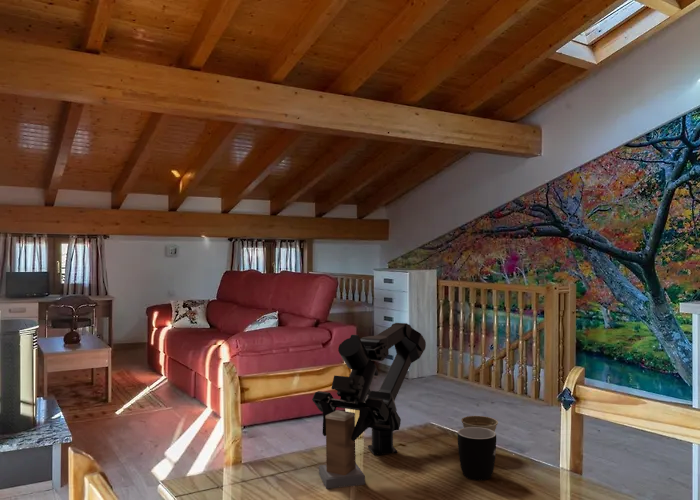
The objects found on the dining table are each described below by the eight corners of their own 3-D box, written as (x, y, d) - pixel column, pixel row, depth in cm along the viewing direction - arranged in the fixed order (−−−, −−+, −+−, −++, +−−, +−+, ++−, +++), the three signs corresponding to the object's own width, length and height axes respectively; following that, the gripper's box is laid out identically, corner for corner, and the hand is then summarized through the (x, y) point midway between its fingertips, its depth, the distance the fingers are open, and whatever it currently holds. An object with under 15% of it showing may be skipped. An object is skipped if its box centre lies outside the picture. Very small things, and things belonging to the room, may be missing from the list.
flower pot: (501, 450, 152) (501, 417, 152) (494, 462, 144) (494, 427, 144) (466, 445, 156) (466, 414, 156) (457, 456, 148) (457, 423, 148)
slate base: (318, 473, 137) (318, 464, 137) (355, 470, 139) (355, 461, 139) (326, 488, 128) (326, 479, 128) (364, 484, 130) (364, 474, 130)
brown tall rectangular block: (337, 464, 137) (336, 410, 137) (355, 467, 135) (355, 412, 135) (326, 471, 133) (325, 415, 133) (345, 475, 130) (344, 418, 130)
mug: (499, 483, 130) (499, 439, 130) (460, 482, 131) (459, 438, 131) (491, 464, 142) (490, 423, 142) (454, 463, 143) (454, 423, 143)
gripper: (315, 358, 142) (290, 414, 132) (383, 365, 133) (361, 425, 123) (332, 383, 149) (309, 438, 139) (397, 391, 140) (378, 450, 130)
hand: (337, 437), depth 133 cm, fingers open, 7 cm apart
